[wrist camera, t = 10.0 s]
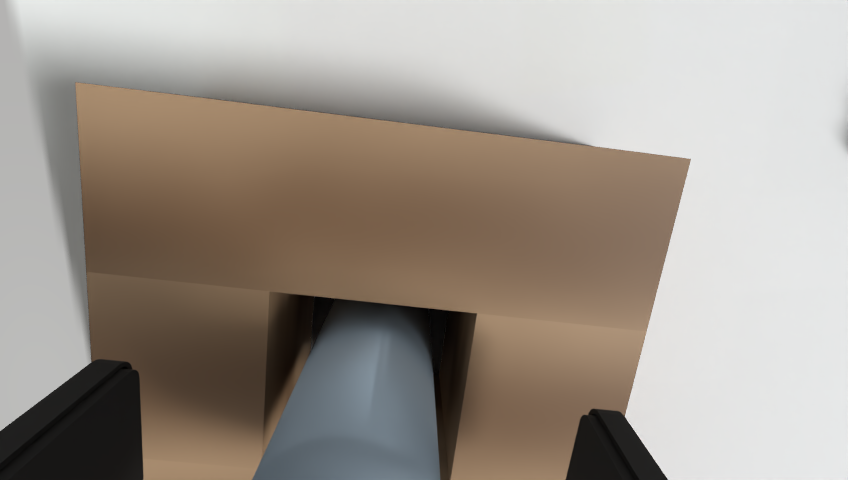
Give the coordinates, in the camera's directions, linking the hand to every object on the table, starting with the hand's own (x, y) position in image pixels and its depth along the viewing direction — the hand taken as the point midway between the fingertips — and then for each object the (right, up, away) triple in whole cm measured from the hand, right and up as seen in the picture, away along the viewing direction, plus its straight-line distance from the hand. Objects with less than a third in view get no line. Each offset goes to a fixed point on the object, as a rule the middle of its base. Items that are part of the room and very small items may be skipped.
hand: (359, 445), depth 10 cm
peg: (0, +2, +8) cm, 8 cm away
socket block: (0, +2, +8) cm, 8 cm away
